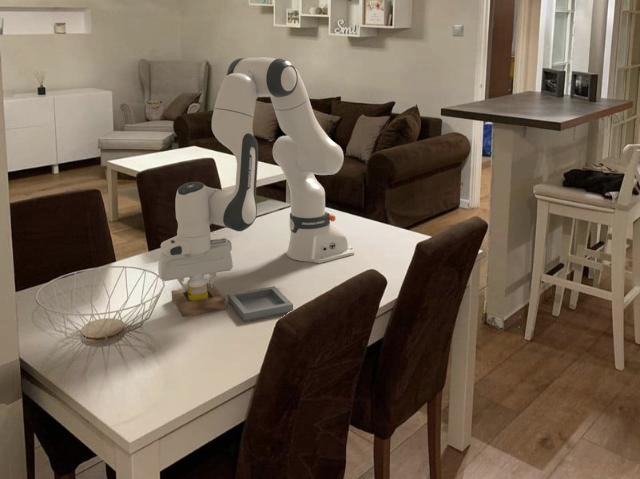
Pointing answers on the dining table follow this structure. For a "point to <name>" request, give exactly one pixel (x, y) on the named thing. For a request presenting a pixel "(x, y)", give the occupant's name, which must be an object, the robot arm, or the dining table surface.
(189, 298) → the supplement bottle
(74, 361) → the dining table surface
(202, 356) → the dining table surface
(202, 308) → the walnut collar
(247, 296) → the charcoal tray
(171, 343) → the dining table surface
